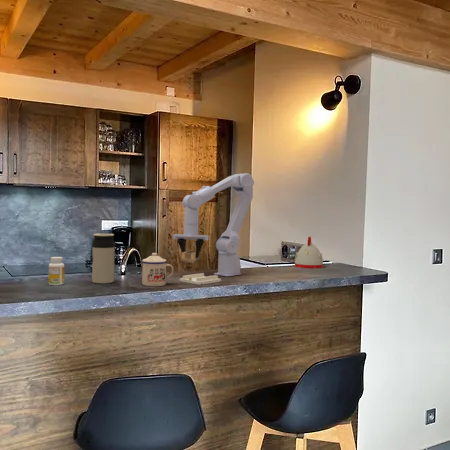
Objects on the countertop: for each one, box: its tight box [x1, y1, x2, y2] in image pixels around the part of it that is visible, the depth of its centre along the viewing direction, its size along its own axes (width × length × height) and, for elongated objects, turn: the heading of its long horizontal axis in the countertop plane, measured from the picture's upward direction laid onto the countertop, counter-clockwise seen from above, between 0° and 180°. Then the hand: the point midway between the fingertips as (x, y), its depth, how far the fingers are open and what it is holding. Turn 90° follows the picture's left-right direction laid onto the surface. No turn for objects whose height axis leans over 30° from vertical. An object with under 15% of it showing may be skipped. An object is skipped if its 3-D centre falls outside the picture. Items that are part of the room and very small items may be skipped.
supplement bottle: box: [48, 256, 65, 286], centre depth 177 cm, size 5×5×10 cm
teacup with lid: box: [141, 252, 174, 287], centre depth 182 cm, size 12×9×12 cm
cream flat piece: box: [178, 272, 222, 286], centre depth 191 cm, size 12×11×2 cm
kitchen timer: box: [294, 236, 324, 269], centre depth 246 cm, size 14×14×15 cm
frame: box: [181, 250, 200, 264], centre depth 201 cm, size 9×5×4 cm, turn 169°
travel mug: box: [91, 233, 116, 285], centre depth 184 cm, size 8×8×18 cm
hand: (190, 257), depth 202 cm, fingers closed on frame, 5 cm apart
